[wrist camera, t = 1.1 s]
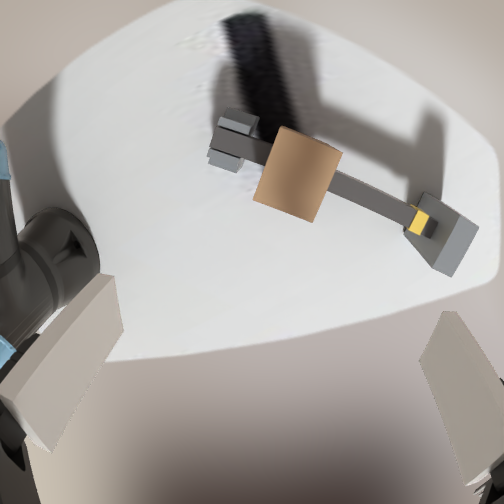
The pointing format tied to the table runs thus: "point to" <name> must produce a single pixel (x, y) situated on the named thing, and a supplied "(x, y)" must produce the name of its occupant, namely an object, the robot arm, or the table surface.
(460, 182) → the table surface
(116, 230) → the table surface
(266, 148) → the rod rig
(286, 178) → the wooden block on rod
